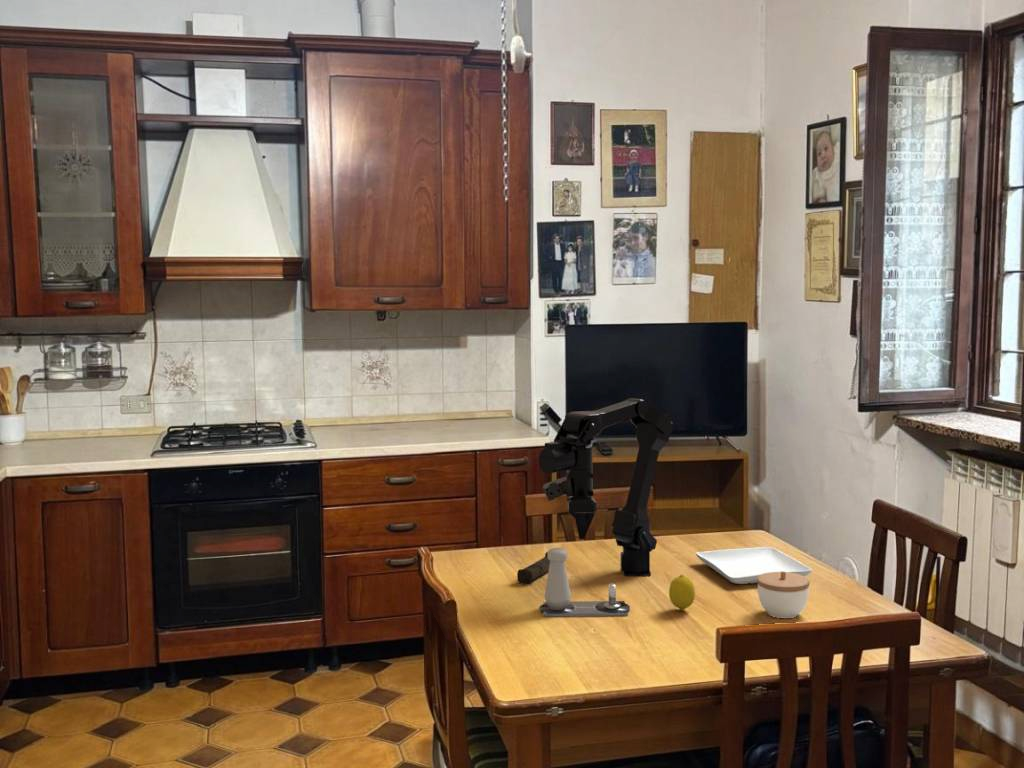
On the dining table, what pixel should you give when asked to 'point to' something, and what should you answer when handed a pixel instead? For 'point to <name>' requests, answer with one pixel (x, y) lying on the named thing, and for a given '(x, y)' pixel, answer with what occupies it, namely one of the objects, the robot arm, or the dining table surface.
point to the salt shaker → (557, 580)
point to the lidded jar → (783, 593)
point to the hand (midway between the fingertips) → (580, 533)
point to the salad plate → (750, 563)
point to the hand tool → (533, 571)
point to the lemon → (682, 592)
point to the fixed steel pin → (612, 598)
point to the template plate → (585, 609)
